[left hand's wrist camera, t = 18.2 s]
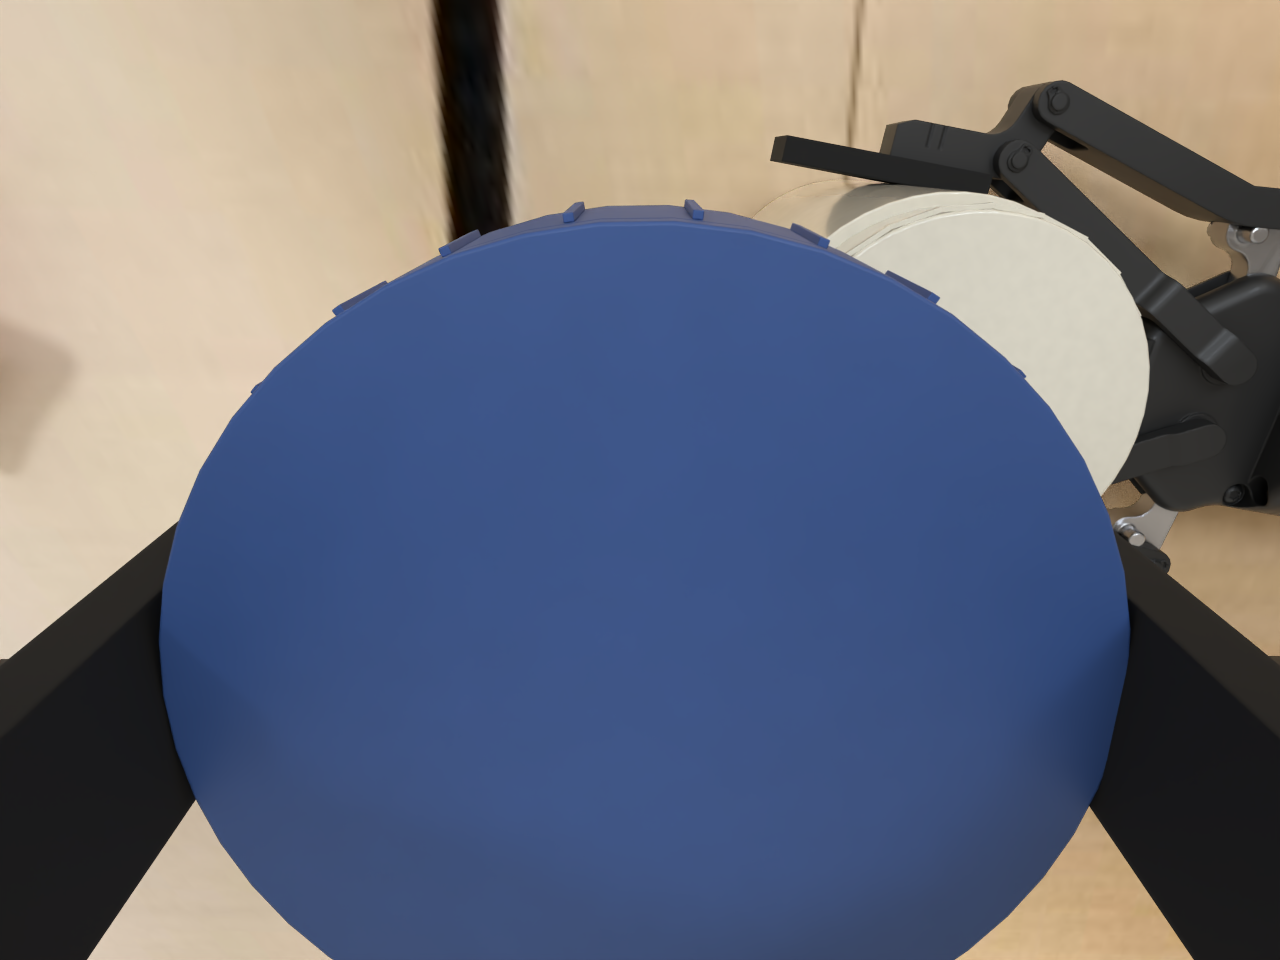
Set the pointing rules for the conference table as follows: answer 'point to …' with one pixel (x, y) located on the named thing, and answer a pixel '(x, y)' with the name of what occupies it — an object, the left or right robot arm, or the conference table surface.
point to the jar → (1004, 294)
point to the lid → (644, 609)
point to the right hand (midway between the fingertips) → (743, 310)
